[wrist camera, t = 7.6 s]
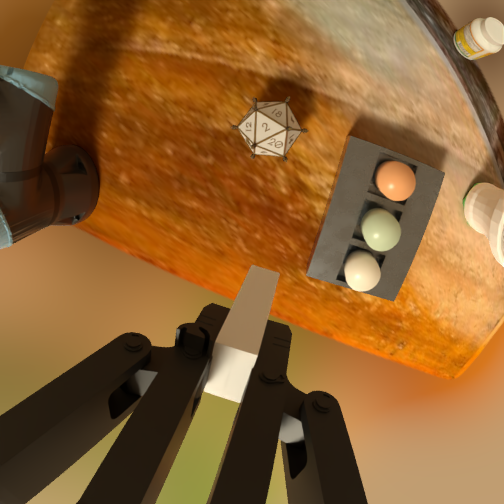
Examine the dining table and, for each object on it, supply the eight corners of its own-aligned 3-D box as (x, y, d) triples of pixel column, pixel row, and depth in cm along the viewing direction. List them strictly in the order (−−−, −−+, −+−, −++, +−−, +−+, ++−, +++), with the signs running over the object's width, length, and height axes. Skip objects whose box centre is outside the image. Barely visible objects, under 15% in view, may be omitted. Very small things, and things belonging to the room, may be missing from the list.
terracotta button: (370, 189, 38) (374, 193, 35) (380, 155, 36) (386, 156, 33) (401, 200, 37) (408, 206, 34) (412, 167, 36) (420, 170, 33)
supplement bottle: (452, 53, 30) (481, 38, 22) (452, 24, 28) (478, 5, 20) (481, 65, 30) (513, 55, 21) (480, 37, 28) (510, 22, 19)
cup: (496, 244, 39) (541, 280, 26) (444, 233, 41) (486, 271, 28) (510, 178, 35) (563, 198, 22) (458, 162, 36) (509, 176, 23)
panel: (306, 264, 47) (306, 275, 43) (346, 135, 39) (350, 135, 35) (388, 289, 46) (393, 301, 42) (434, 169, 38) (445, 173, 34)
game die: (289, 125, 43) (332, 126, 35) (257, 170, 44) (297, 180, 35) (246, 86, 38) (285, 76, 30) (210, 133, 39) (242, 133, 30)
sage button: (355, 236, 39) (358, 244, 37) (367, 202, 38) (371, 208, 35) (387, 247, 39) (392, 255, 36) (399, 214, 37) (406, 221, 34)
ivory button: (338, 275, 43) (340, 285, 40) (350, 245, 41) (353, 253, 38) (369, 284, 43) (372, 295, 40) (381, 255, 41) (386, 264, 38)
